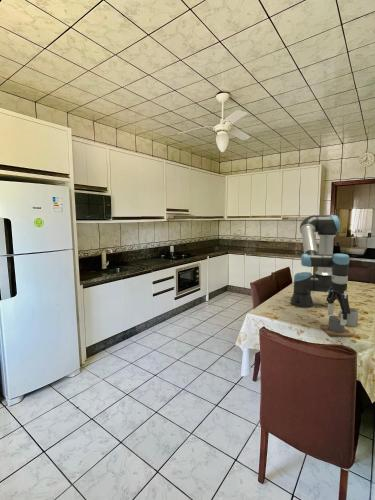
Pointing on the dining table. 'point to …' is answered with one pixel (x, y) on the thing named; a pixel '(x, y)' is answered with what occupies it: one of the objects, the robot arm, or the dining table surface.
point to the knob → (335, 324)
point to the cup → (351, 317)
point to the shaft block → (333, 334)
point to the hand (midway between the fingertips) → (336, 319)
